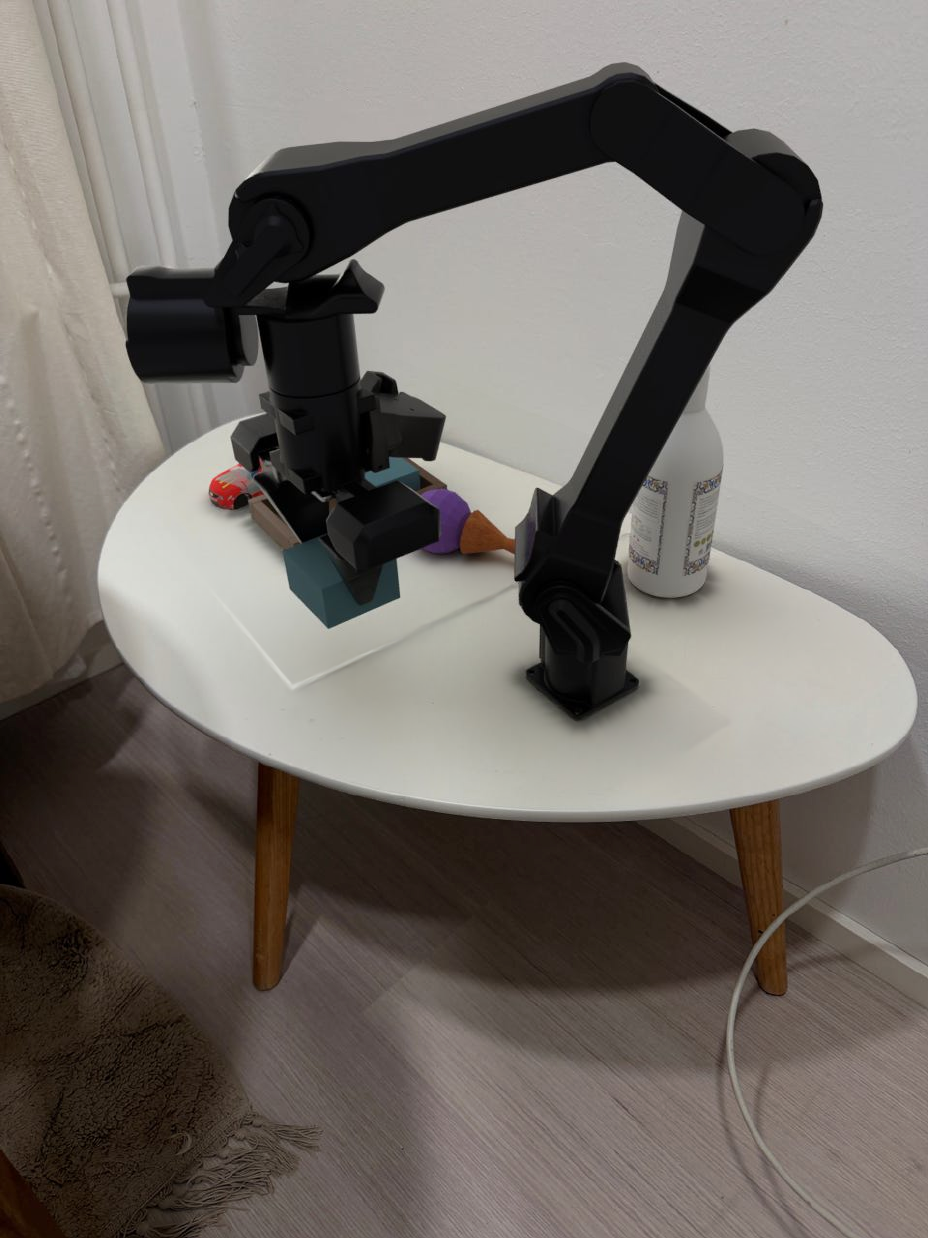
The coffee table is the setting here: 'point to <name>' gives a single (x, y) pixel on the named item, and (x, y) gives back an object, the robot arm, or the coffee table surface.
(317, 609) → the loose pad
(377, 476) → the teal square block
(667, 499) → the bath foam
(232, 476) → the race car
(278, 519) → the frame
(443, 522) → the purple ice cream cone
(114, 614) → the coffee table surface
